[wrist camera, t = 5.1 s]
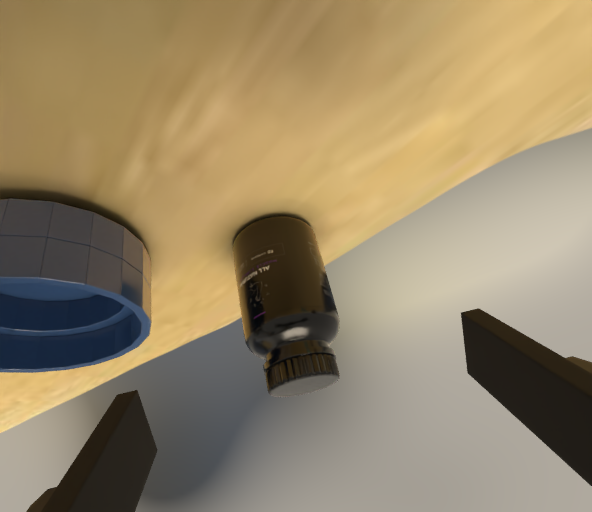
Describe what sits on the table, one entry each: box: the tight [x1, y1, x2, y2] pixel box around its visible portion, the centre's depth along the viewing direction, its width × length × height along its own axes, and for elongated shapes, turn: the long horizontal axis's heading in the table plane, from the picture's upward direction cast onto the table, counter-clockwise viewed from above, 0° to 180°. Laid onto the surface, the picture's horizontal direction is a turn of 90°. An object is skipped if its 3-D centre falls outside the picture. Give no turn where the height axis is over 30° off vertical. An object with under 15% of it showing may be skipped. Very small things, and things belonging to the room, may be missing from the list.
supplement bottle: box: [233, 216, 340, 397], centre depth 27 cm, size 7×7×12 cm
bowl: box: [0, 198, 151, 373], centre depth 24 cm, size 13×13×6 cm
